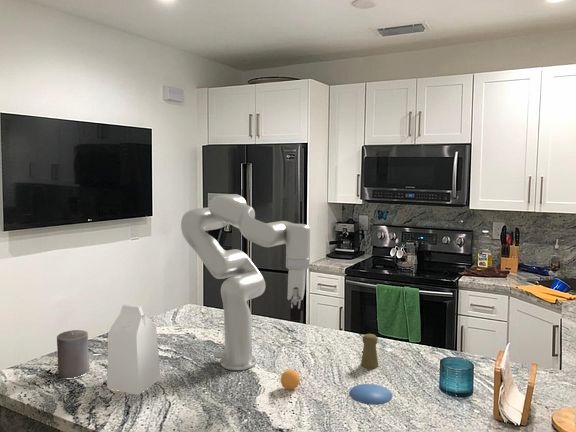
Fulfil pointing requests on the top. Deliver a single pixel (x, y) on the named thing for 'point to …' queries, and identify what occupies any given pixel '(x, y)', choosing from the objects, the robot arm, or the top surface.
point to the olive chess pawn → (369, 352)
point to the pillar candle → (72, 353)
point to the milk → (132, 352)
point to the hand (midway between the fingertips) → (296, 315)
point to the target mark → (370, 394)
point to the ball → (290, 379)
